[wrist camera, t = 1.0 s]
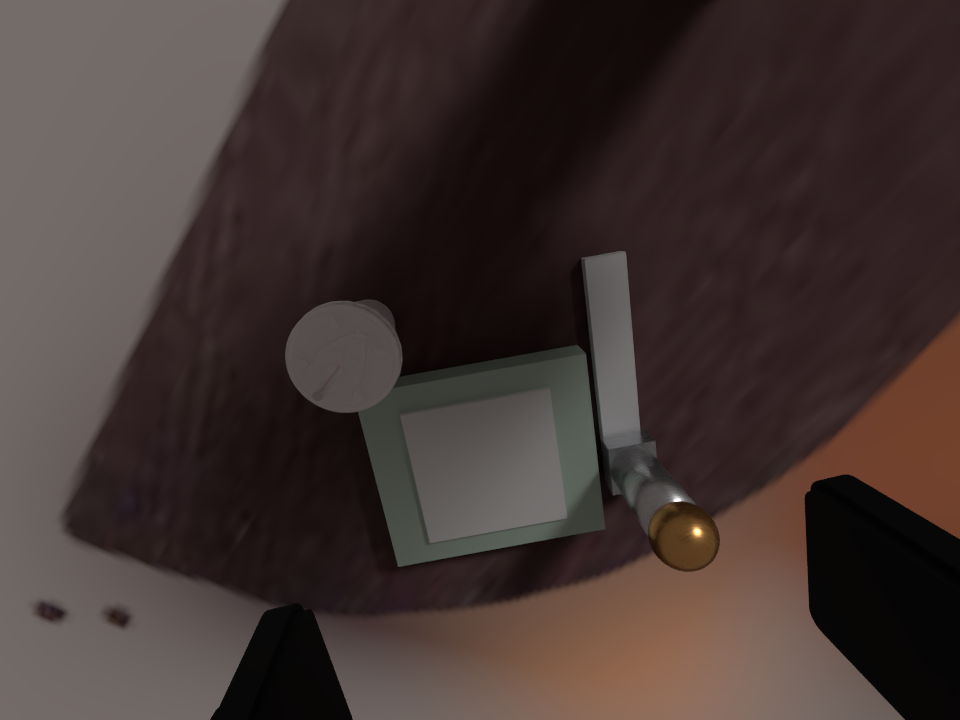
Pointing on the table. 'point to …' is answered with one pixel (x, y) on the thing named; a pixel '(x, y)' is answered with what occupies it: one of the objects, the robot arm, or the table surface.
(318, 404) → the smoothie
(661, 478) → the lever
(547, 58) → the table surface
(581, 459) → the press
